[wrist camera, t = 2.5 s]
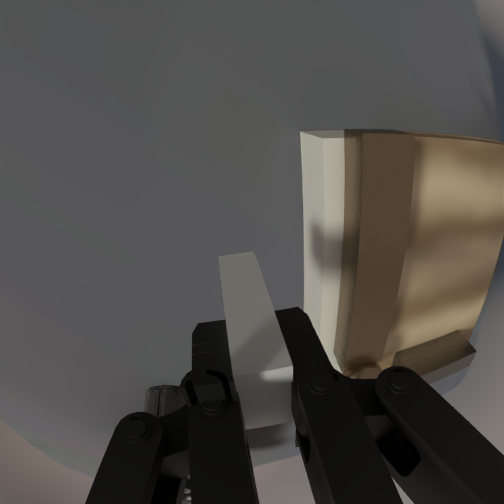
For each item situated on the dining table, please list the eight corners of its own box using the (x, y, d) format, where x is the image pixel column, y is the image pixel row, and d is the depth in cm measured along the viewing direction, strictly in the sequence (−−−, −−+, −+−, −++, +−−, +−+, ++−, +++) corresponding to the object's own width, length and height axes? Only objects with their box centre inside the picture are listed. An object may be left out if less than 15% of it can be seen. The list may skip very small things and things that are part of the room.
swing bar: (366, 370, 23) (380, 395, 20) (325, 381, 22) (336, 408, 20) (397, 129, 14) (429, 137, 12) (338, 129, 14) (365, 135, 11)
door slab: (370, 130, 18) (394, 135, 16) (493, 139, 20) (517, 146, 17) (344, 387, 30) (353, 408, 28) (442, 354, 32) (454, 370, 29)
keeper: (395, 352, 24) (413, 379, 21) (458, 329, 25) (476, 351, 22) (391, 366, 25) (407, 393, 22) (452, 343, 26) (469, 365, 23)
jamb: (299, 131, 18) (336, 143, 13) (370, 130, 18) (422, 143, 13) (300, 398, 30) (315, 442, 25) (344, 387, 30) (363, 428, 25)
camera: (88, 395, 26) (71, 475, 17) (180, 379, 26) (180, 475, 17) (151, 454, 33) (150, 517, 24) (227, 443, 33) (237, 512, 24)
